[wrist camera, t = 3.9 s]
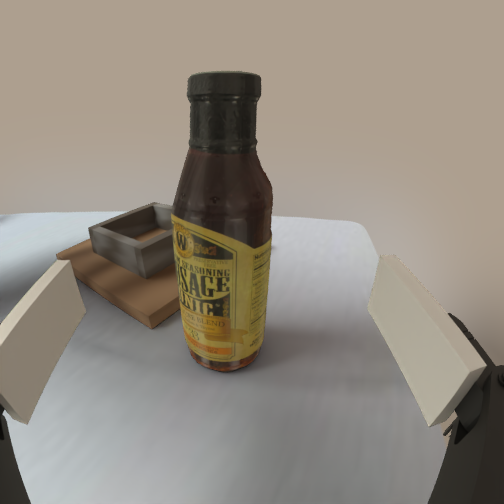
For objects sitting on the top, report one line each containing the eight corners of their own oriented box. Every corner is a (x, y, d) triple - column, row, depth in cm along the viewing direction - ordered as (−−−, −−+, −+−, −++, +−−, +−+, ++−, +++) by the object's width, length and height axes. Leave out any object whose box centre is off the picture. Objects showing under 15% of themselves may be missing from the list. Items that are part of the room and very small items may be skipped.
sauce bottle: (173, 346, 23) (142, 82, 14) (228, 315, 27) (222, 83, 18) (225, 392, 19) (209, 60, 10) (282, 349, 23) (298, 76, 14)
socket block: (58, 263, 35) (50, 231, 33) (156, 219, 50) (153, 192, 48) (151, 329, 25) (140, 282, 22) (263, 247, 40) (264, 212, 38)
